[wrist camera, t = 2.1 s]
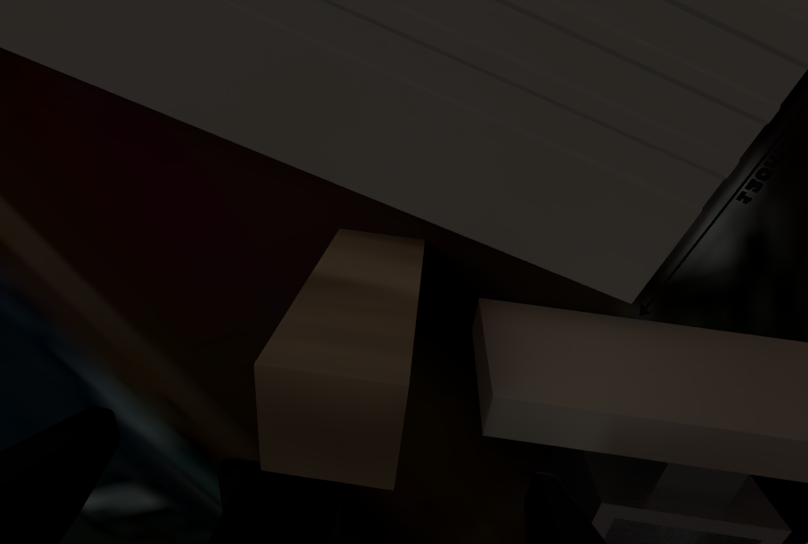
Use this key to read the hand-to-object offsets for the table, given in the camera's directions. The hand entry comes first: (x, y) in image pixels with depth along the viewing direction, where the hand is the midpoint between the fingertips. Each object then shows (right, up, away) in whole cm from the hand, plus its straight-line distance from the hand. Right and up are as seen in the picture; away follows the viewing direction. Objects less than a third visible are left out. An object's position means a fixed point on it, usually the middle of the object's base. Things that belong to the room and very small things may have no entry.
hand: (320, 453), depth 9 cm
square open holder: (+11, -4, +8) cm, 14 cm away
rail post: (+1, +4, +8) cm, 9 cm away
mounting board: (+12, +1, +8) cm, 14 cm away
